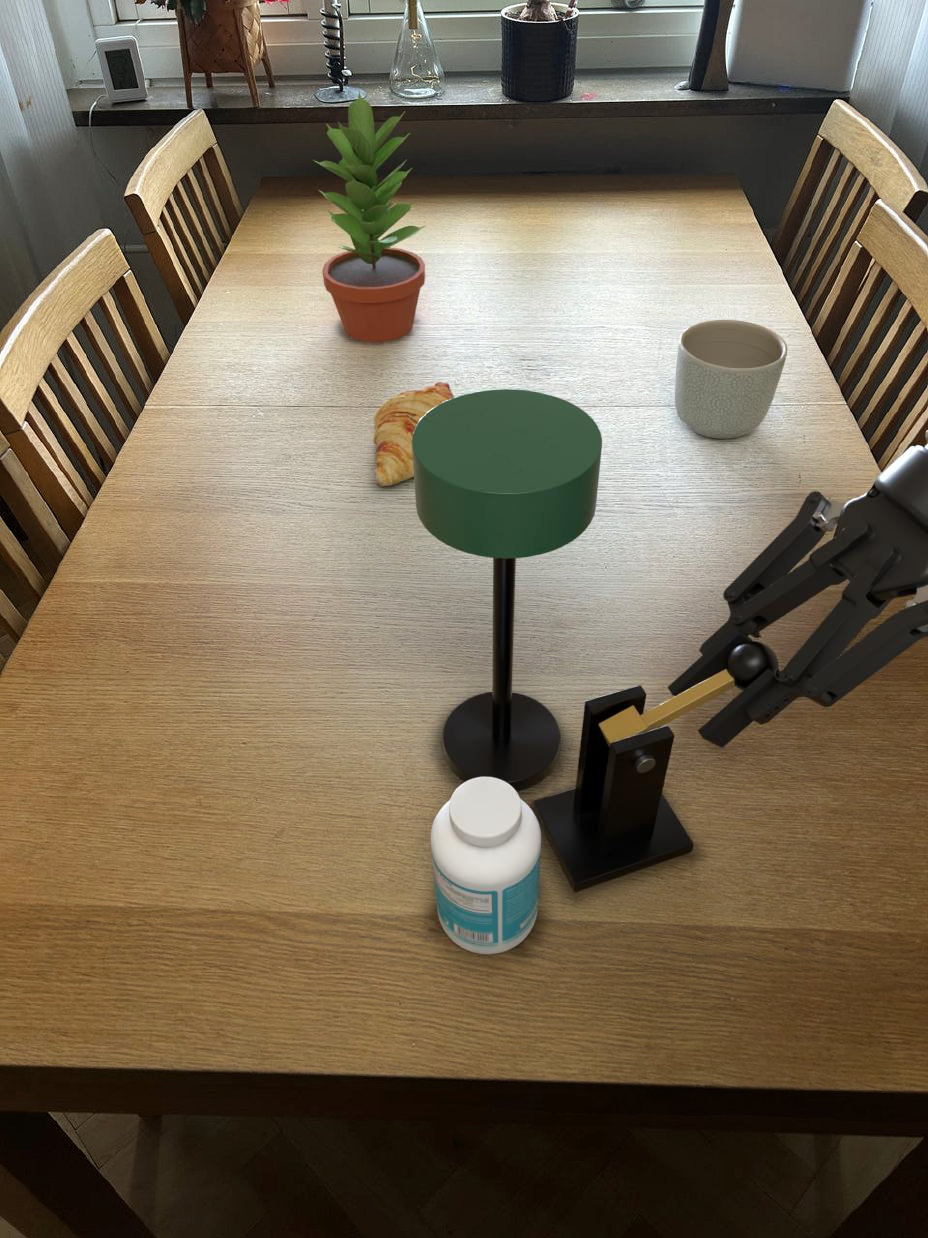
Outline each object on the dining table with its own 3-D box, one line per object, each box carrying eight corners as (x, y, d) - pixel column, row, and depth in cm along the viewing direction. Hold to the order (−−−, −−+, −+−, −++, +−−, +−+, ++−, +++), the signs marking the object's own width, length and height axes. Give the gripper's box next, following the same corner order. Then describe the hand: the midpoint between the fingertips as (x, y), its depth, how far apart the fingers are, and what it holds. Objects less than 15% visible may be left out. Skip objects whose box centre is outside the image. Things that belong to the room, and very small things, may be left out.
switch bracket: (643, 774, 78) (665, 660, 68) (691, 852, 72) (723, 740, 63) (532, 809, 75) (539, 696, 66) (574, 893, 70) (588, 782, 60)
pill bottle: (519, 856, 72) (523, 748, 63) (551, 943, 67) (561, 838, 58) (425, 881, 71) (416, 773, 61) (451, 971, 66) (445, 868, 56)
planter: (777, 451, 112) (799, 369, 104) (674, 451, 112) (688, 369, 104) (756, 397, 121) (774, 318, 113) (660, 398, 121) (672, 319, 113)
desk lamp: (594, 778, 77) (636, 468, 56) (459, 821, 75) (447, 511, 53) (538, 679, 86) (555, 375, 64) (413, 714, 83) (388, 408, 61)
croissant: (408, 522, 108) (436, 478, 102) (333, 477, 107) (357, 429, 101) (463, 424, 122) (490, 381, 117) (398, 383, 121) (422, 337, 115)
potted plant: (350, 360, 130) (325, 126, 109) (316, 315, 140) (287, 94, 119) (447, 337, 134) (441, 108, 113) (408, 296, 144) (395, 79, 123)
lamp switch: (762, 651, 68) (757, 622, 65) (791, 685, 65) (786, 656, 63) (603, 737, 68) (591, 712, 65) (626, 775, 65) (614, 750, 63)
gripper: (1080, 581, 56) (784, 819, 64) (898, 439, 68) (665, 655, 75) (1047, 532, 51) (730, 796, 59) (857, 387, 63) (612, 624, 70)
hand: (694, 717), depth 67 cm, fingers closed on lamp switch, 4 cm apart
